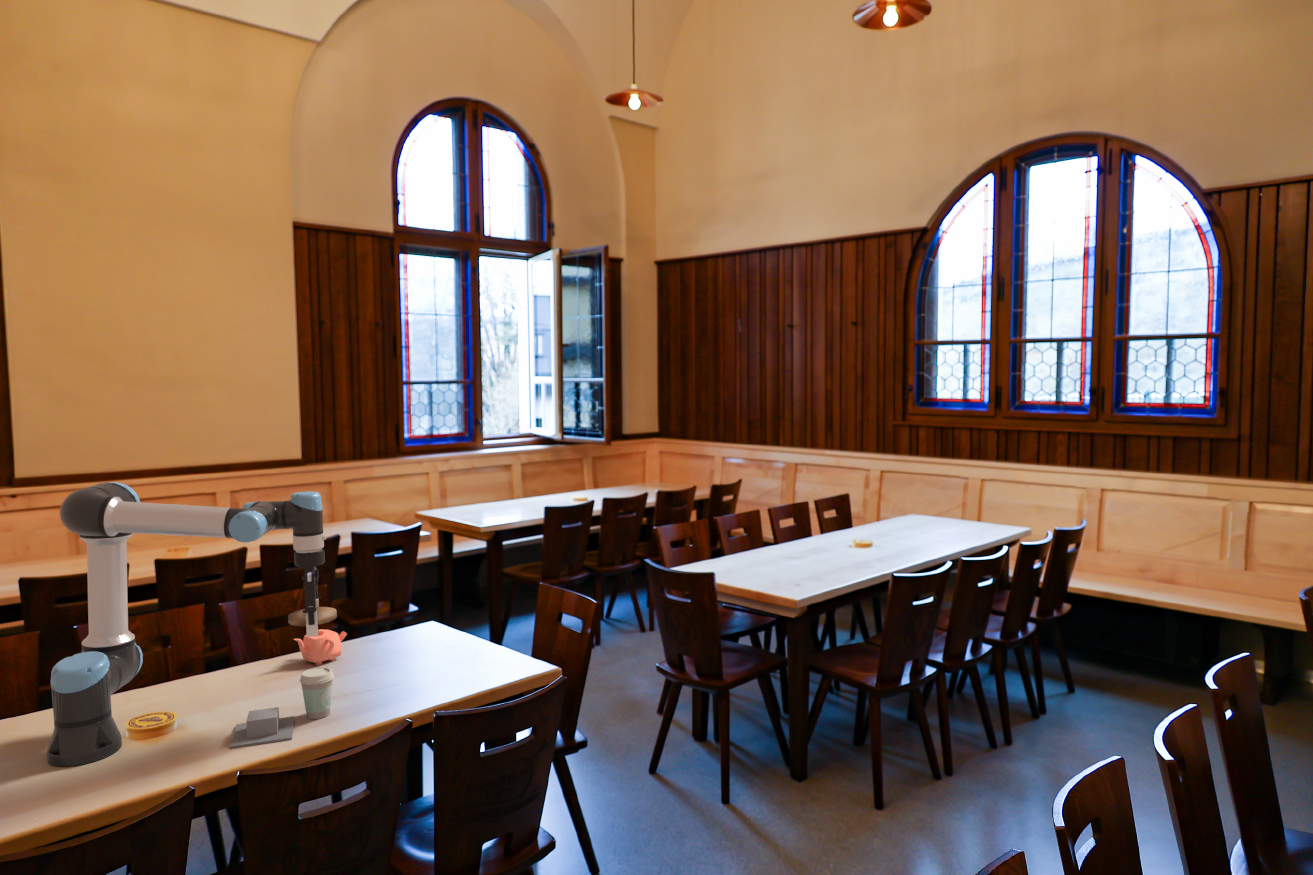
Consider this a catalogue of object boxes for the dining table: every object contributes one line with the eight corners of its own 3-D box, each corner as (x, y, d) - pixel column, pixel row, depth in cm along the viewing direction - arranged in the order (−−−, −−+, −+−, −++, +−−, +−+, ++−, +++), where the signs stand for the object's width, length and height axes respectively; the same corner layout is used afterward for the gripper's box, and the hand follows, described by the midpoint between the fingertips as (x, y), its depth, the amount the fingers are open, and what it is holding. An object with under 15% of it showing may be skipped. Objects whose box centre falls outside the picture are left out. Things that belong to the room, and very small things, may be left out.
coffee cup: (323, 722, 221) (321, 678, 220) (294, 720, 223) (292, 676, 222) (341, 709, 230) (340, 667, 229) (313, 707, 231) (312, 665, 230)
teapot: (313, 653, 277) (312, 623, 276) (349, 652, 276) (347, 622, 276) (294, 668, 262) (292, 637, 261) (331, 668, 262) (330, 636, 261)
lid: (286, 628, 216) (286, 617, 216) (290, 615, 227) (289, 605, 227) (336, 622, 220) (336, 612, 220) (337, 610, 231) (336, 600, 231)
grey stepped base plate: (230, 748, 206) (229, 729, 206) (236, 726, 219) (235, 707, 219) (291, 739, 211) (290, 720, 211) (294, 718, 224) (293, 700, 224)
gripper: (323, 557, 212) (327, 640, 214) (325, 540, 235) (329, 615, 236) (290, 560, 209) (295, 644, 211) (296, 542, 232) (300, 618, 234)
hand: (313, 629), depth 224 cm, fingers closed on lid, 12 cm apart
